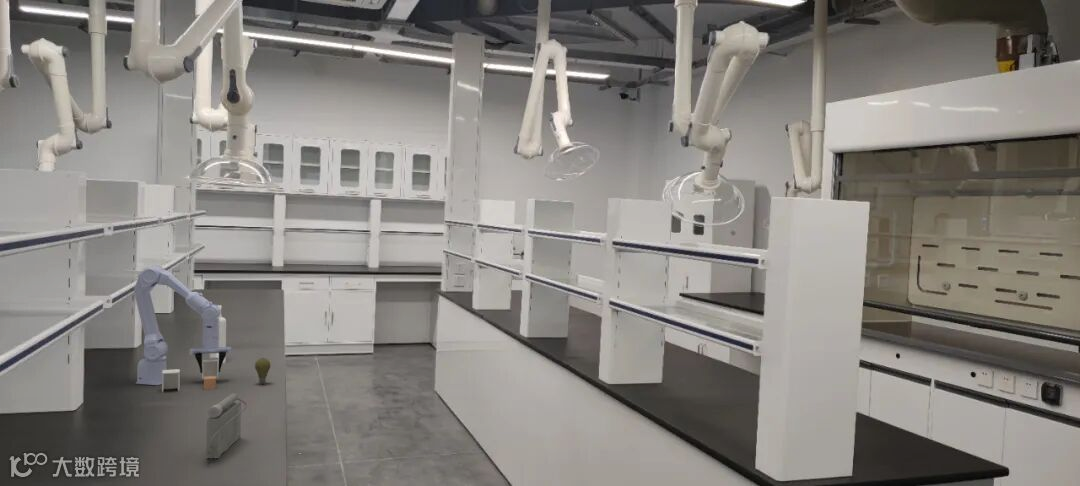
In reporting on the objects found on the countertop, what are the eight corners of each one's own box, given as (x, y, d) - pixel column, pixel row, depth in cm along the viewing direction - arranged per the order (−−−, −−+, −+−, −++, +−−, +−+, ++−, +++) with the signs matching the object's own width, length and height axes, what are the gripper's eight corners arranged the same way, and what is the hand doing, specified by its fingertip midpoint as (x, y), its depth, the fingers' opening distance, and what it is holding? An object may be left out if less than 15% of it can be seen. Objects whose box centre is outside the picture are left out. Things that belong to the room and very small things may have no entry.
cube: (203, 389, 277) (204, 379, 277) (203, 387, 280) (203, 376, 280) (215, 389, 278) (215, 378, 278) (215, 386, 282) (215, 376, 282)
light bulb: (264, 386, 285) (265, 360, 284) (251, 385, 286) (252, 358, 286) (273, 383, 290) (273, 357, 290) (259, 381, 291) (260, 356, 291)
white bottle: (207, 365, 317) (209, 306, 317) (209, 361, 328) (212, 303, 328) (224, 365, 319) (227, 306, 319) (226, 360, 330) (228, 304, 330)
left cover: (161, 392, 270) (162, 373, 270) (162, 388, 275) (162, 370, 275) (179, 391, 273) (179, 372, 272) (179, 387, 278) (179, 369, 277)
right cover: (202, 379, 285) (202, 360, 284) (202, 376, 290) (202, 358, 289) (218, 378, 287) (218, 360, 287) (217, 375, 292) (218, 357, 292)
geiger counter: (227, 390, 221) (195, 412, 196) (249, 390, 221) (220, 412, 196) (226, 437, 221) (194, 465, 196) (248, 437, 222) (219, 465, 197)
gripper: (189, 339, 281) (189, 375, 282) (231, 337, 287) (231, 373, 288) (189, 336, 287) (189, 371, 288) (230, 334, 294) (230, 369, 294)
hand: (210, 372), depth 288 cm, fingers closed on right cover, 6 cm apart
